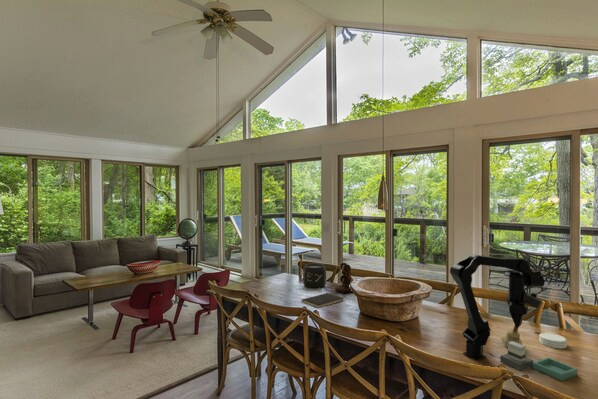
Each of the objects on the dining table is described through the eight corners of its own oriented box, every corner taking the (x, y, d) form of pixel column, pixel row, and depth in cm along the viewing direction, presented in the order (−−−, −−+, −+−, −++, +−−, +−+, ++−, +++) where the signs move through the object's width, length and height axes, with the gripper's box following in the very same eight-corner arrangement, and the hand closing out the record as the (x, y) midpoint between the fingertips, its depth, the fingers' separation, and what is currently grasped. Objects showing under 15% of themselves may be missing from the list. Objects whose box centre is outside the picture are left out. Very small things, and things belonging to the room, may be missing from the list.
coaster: (534, 339, 157) (534, 332, 157) (555, 339, 157) (555, 332, 157) (549, 349, 147) (549, 341, 147) (572, 349, 147) (572, 341, 147)
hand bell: (502, 330, 155) (510, 306, 148) (523, 339, 151) (532, 314, 143) (499, 343, 150) (507, 318, 142) (520, 352, 145) (530, 327, 138)
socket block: (520, 370, 128) (520, 364, 128) (500, 361, 136) (500, 355, 136) (533, 366, 132) (533, 360, 132) (513, 357, 139) (513, 351, 139)
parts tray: (561, 381, 121) (561, 374, 121) (532, 368, 130) (532, 362, 130) (577, 375, 125) (577, 368, 125) (548, 363, 134) (548, 357, 134)
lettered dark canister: (297, 286, 254) (297, 266, 254) (312, 282, 268) (312, 262, 268) (316, 290, 242) (316, 269, 242) (330, 285, 256) (330, 265, 256)
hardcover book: (344, 301, 218) (344, 298, 218) (318, 308, 204) (318, 305, 204) (327, 295, 231) (327, 292, 231) (301, 302, 216) (301, 299, 216)
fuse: (520, 368, 131) (520, 347, 131) (507, 362, 135) (507, 342, 135) (525, 366, 132) (525, 346, 132) (512, 360, 137) (512, 341, 137)
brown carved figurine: (358, 293, 236) (358, 264, 236) (339, 294, 233) (339, 265, 233) (351, 287, 250) (351, 261, 250) (332, 288, 247) (332, 262, 247)
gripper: (543, 295, 130) (542, 334, 130) (536, 284, 146) (536, 320, 146) (509, 290, 135) (508, 329, 135) (506, 281, 152) (506, 315, 152)
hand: (516, 323), depth 142 cm, fingers open, 9 cm apart
